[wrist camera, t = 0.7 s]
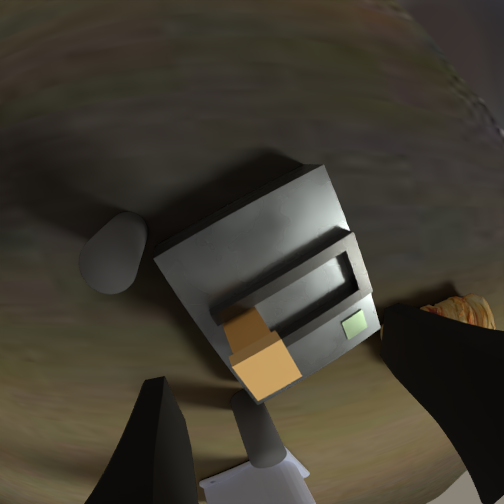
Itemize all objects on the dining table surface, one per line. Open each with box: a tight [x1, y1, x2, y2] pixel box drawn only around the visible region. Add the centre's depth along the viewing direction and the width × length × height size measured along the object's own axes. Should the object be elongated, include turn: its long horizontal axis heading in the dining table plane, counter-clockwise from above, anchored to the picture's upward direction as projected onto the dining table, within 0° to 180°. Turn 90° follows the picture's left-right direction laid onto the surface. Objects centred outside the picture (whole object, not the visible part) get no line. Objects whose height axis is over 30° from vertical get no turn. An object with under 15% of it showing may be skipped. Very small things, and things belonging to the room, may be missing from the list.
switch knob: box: [222, 306, 302, 401], centre depth 15 cm, size 2×3×4 cm
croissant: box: [380, 294, 496, 340], centre depth 24 cm, size 21×10×8 cm, turn 70°
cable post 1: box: [79, 212, 148, 294], centre depth 14 cm, size 2×2×6 cm
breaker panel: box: [153, 164, 381, 405], centre depth 18 cm, size 10×12×3 cm
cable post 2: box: [230, 390, 287, 468], centre depth 19 cm, size 2×2×6 cm
